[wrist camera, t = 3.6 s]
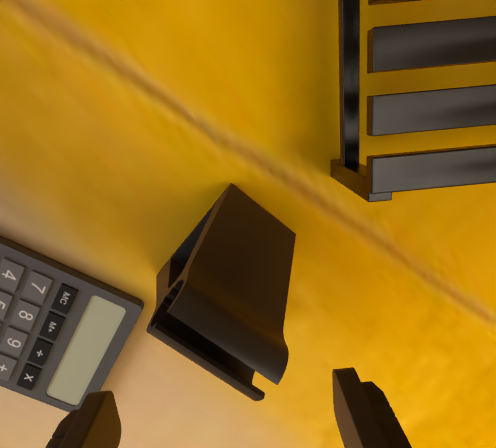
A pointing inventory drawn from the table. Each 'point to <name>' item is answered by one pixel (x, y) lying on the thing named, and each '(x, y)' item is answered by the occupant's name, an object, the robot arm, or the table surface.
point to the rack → (414, 104)
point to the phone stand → (229, 293)
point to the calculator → (58, 328)
